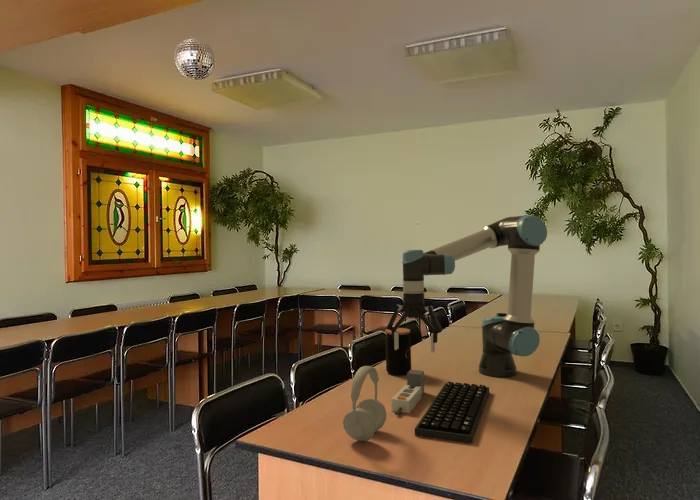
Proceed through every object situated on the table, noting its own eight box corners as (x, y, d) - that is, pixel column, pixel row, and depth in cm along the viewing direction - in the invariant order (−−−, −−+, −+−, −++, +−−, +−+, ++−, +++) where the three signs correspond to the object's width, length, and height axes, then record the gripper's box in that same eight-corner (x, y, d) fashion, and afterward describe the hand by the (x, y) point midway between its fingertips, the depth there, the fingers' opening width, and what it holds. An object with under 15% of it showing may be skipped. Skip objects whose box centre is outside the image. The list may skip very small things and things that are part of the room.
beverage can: (506, 333, 274) (506, 312, 274) (509, 335, 267) (509, 314, 267) (494, 333, 275) (494, 312, 275) (497, 335, 268) (496, 314, 268)
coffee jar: (410, 376, 192) (409, 332, 192) (384, 375, 195) (383, 332, 194) (412, 369, 203) (411, 328, 203) (387, 368, 205) (386, 327, 205)
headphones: (362, 421, 145) (361, 357, 145) (391, 425, 142) (389, 360, 141) (338, 447, 128) (336, 374, 128) (369, 452, 125) (368, 377, 124)
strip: (421, 397, 166) (421, 384, 166) (405, 417, 148) (405, 403, 148) (405, 395, 169) (405, 383, 169) (387, 415, 150) (387, 401, 150)
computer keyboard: (471, 445, 128) (471, 431, 128) (414, 437, 134) (414, 424, 134) (489, 394, 170) (489, 384, 170) (445, 390, 176) (445, 380, 176)
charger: (424, 392, 172) (423, 370, 172) (418, 400, 164) (417, 377, 164) (411, 391, 174) (410, 369, 174) (404, 398, 166) (403, 376, 166)
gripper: (450, 292, 169) (450, 350, 169) (384, 290, 178) (385, 345, 179) (445, 294, 162) (446, 355, 162) (377, 292, 171) (378, 350, 172)
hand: (414, 350), depth 170 cm, fingers open, 13 cm apart
